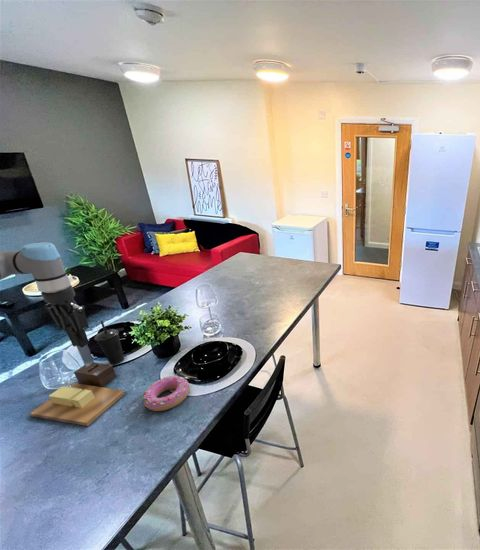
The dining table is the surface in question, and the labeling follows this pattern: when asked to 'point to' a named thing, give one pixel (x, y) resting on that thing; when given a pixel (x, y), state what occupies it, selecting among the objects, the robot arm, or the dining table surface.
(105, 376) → the knife block
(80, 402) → the butter pat
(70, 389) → the butter stick
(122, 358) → the drinking cup
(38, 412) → the board
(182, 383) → the donut
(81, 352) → the knife
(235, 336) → the dining table surface
